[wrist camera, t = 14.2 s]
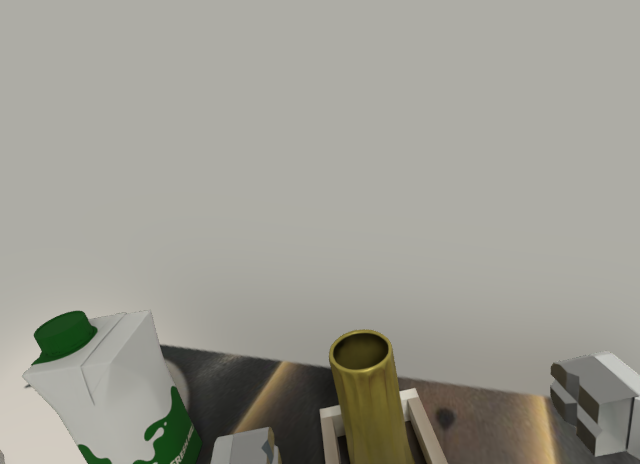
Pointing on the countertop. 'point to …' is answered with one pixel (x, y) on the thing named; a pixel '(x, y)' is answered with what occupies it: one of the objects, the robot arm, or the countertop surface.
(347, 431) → the vase
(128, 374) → the milk carton
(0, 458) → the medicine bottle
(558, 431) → the countertop surface
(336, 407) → the frame
